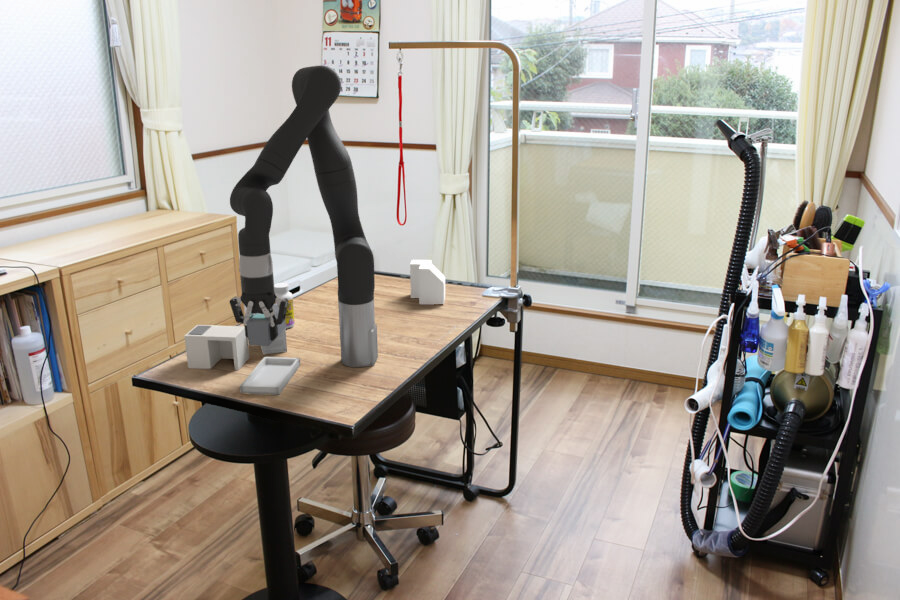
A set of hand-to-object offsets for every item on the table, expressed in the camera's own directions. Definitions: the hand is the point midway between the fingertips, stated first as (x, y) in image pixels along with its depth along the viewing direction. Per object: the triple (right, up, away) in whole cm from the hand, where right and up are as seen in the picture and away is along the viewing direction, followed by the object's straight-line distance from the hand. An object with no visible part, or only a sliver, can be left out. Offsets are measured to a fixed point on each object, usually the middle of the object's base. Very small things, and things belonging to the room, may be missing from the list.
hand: (261, 338), depth 179 cm
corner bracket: (+38, +9, +67) cm, 78 cm away
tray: (+1, -10, +8) cm, 13 cm away
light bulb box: (-4, -4, +28) cm, 29 cm away
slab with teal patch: (0, +1, +4) cm, 4 cm away
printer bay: (-16, -7, +17) cm, 24 cm away
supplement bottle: (-4, +1, +43) cm, 44 cm away
